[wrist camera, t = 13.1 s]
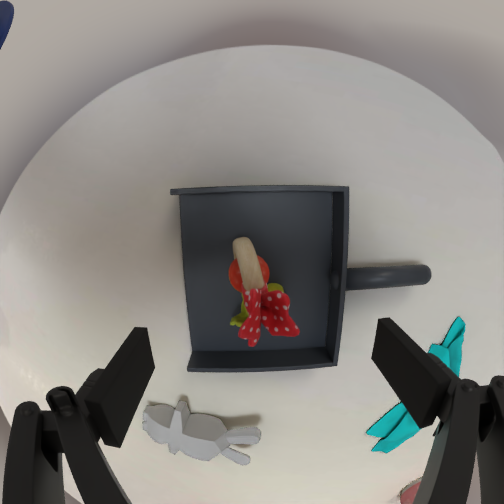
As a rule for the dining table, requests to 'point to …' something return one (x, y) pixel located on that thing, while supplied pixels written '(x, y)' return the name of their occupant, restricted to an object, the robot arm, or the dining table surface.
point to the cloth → (398, 419)
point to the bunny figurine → (196, 433)
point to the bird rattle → (258, 296)
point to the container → (410, 492)
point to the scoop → (273, 272)
